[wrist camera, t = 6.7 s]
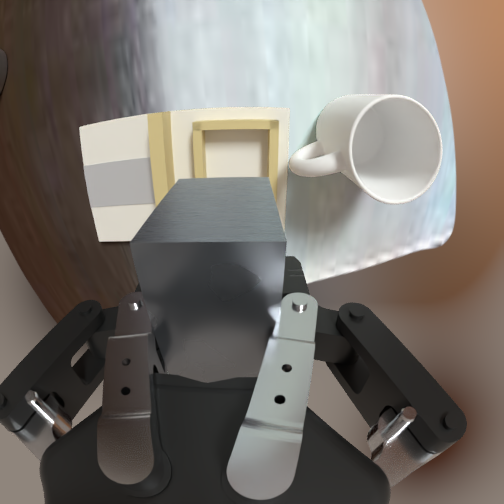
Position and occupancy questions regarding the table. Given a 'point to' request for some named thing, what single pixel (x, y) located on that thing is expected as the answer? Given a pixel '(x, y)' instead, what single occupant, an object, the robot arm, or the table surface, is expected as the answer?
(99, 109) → the table surface
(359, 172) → the mug
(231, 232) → the block
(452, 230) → the table surface
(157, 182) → the white fixture board
